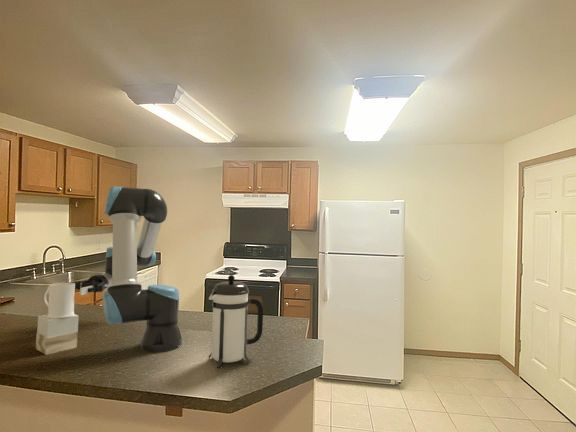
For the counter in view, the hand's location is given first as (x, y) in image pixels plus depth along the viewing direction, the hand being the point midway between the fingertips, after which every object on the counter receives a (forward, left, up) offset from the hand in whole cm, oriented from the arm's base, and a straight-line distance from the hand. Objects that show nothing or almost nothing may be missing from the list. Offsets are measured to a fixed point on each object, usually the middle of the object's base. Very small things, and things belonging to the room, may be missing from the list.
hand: (64, 290), depth 130 cm
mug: (-1, +2, -9) cm, 9 cm away
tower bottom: (-2, +2, -21) cm, 21 cm away
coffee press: (-62, -29, -21) cm, 71 cm away
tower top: (-2, +2, -15) cm, 15 cm away
